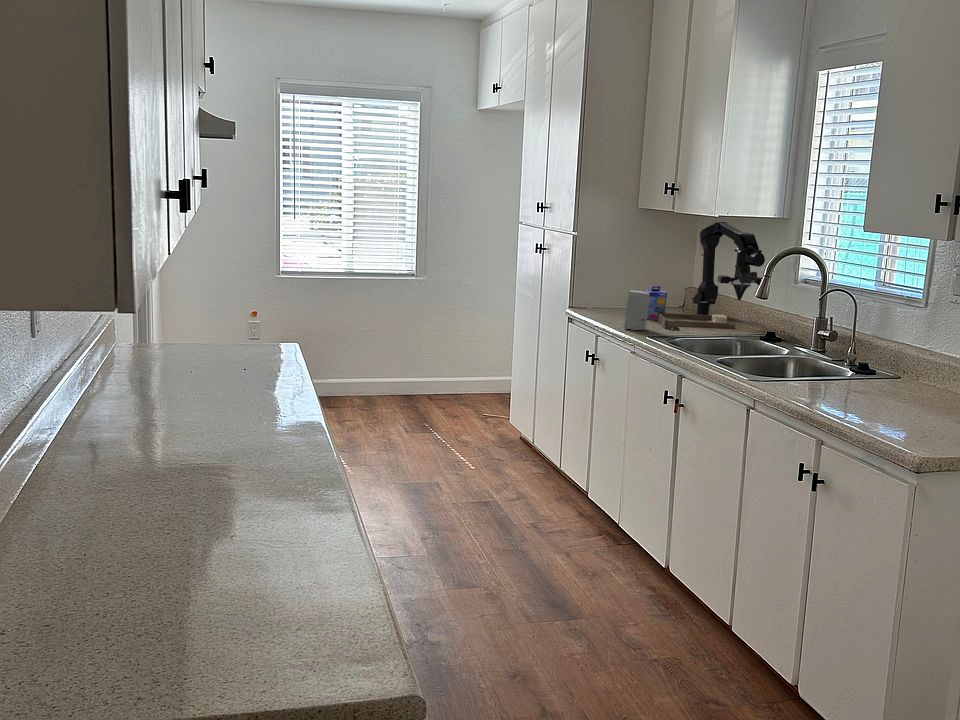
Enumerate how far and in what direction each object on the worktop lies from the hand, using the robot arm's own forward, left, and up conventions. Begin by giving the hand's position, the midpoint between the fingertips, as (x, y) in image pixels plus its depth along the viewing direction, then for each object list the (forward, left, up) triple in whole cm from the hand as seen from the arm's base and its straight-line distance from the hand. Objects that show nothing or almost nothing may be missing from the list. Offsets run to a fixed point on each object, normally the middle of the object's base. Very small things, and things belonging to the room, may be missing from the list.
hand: (738, 300), depth 395 cm
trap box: (0, -17, -12) cm, 21 cm away
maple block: (0, -7, -10) cm, 13 cm away
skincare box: (+13, -45, -12) cm, 48 cm away
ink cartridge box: (-15, -33, -12) cm, 38 cm away
